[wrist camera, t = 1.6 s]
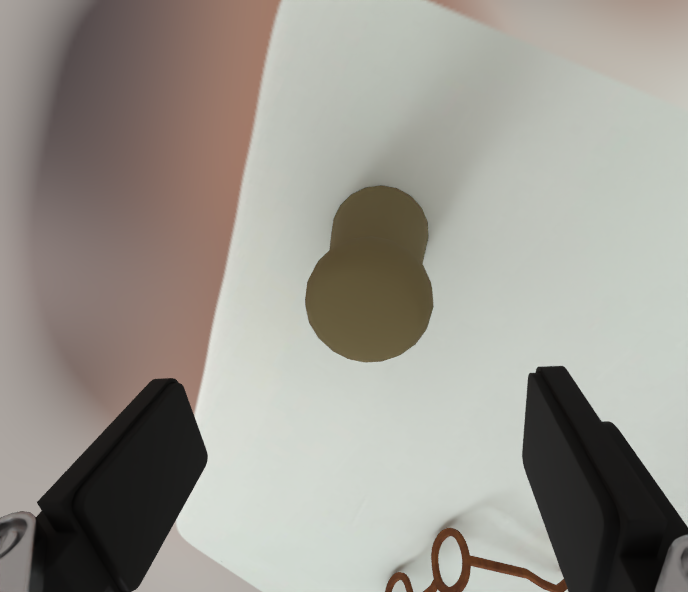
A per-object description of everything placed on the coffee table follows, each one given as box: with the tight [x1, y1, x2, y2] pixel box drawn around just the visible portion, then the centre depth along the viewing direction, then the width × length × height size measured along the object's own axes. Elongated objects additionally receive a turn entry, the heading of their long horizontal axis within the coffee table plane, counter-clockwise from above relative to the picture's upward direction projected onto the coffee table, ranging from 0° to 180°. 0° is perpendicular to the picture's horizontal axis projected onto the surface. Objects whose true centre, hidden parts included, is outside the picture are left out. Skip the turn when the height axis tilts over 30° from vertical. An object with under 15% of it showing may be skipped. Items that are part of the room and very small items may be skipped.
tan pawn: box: [305, 186, 433, 362], centre depth 19 cm, size 6×6×11 cm
